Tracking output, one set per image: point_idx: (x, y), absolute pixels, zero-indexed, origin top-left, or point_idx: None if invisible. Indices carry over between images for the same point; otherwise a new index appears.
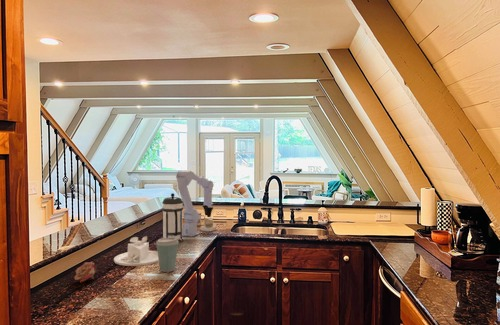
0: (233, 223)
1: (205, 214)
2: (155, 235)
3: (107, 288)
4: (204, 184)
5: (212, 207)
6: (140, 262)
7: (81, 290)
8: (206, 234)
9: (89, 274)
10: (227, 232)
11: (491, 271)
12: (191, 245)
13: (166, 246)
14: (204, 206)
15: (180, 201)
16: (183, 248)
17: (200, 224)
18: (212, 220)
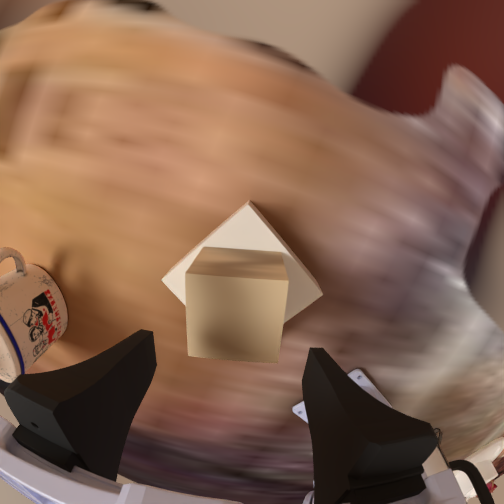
0: (86, 16)
1: (152, 373)
2: (267, 491)
3: None
4: None
5: (413, 449)
6: (493, 458)
7: (499, 470)
8: (392, 328)
9: (493, 481)
10: (412, 154)
11: None
12: (489, 398)
13: None
14: (107, 476)
15: None
16: (491, 414)
17: (48, 276)
18: (287, 283)
